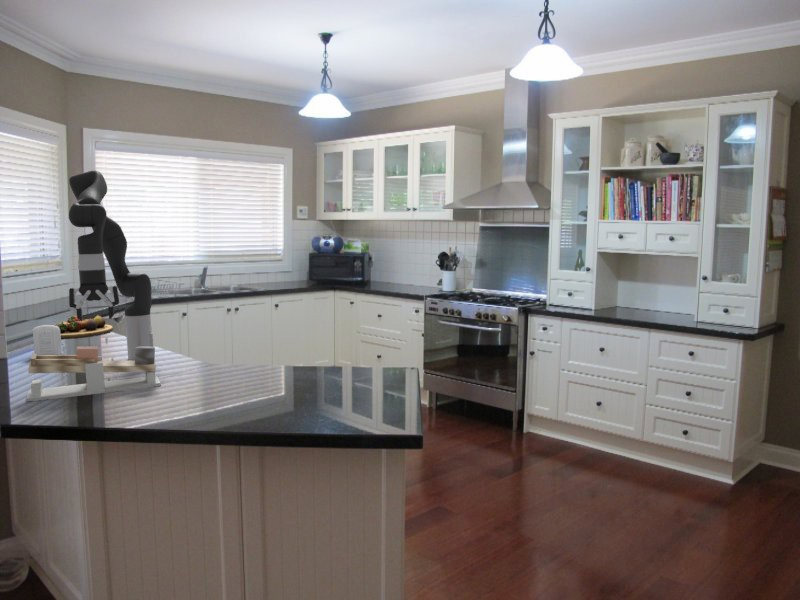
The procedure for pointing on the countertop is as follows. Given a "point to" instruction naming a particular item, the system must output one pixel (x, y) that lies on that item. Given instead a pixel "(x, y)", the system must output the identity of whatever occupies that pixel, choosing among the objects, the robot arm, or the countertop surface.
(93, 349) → the rider
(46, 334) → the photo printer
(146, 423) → the countertop surface
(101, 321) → the wooden plate with food
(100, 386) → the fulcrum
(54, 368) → the beam
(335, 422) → the countertop surface
